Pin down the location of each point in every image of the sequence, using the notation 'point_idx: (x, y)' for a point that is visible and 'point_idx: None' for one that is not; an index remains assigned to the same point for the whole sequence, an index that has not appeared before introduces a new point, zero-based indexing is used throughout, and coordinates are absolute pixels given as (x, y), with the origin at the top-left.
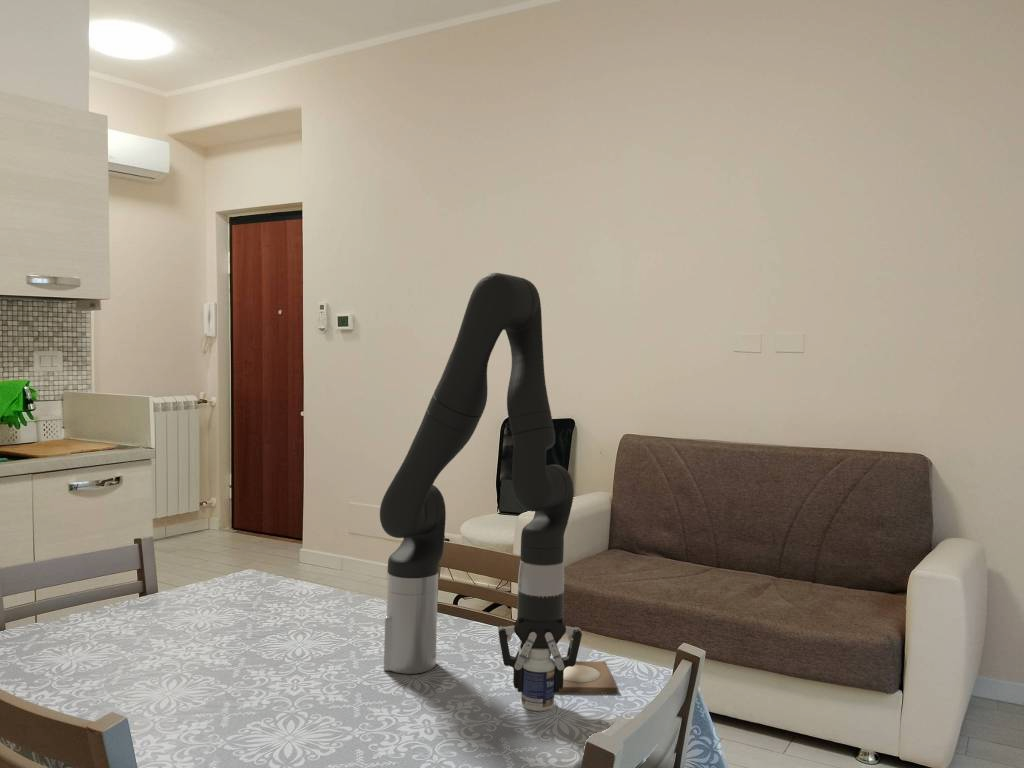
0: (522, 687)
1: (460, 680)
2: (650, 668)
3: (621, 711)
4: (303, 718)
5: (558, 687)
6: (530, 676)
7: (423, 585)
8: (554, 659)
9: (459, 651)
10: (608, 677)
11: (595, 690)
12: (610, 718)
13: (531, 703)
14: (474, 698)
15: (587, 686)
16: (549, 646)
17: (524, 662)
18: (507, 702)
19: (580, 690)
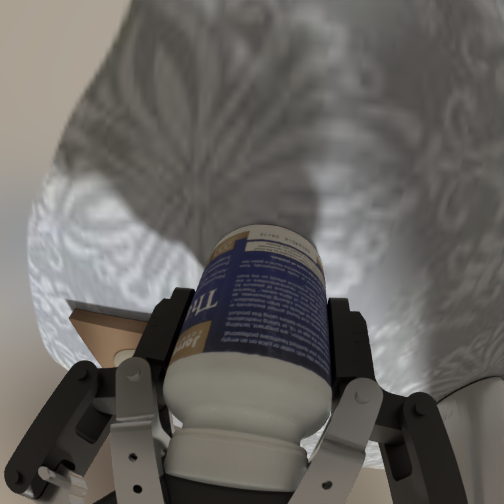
0: (327, 313)
1: (424, 374)
2: (67, 366)
3: (41, 226)
4: None
5: (172, 299)
6: (301, 340)
7: None
8: (151, 412)
9: None
10: (98, 355)
11: (110, 321)
12: (50, 185)
13: (294, 244)
14: (439, 310)
15: (125, 333)
16: (157, 490)
17: (325, 416)
18: (362, 290)
19: (142, 327)
